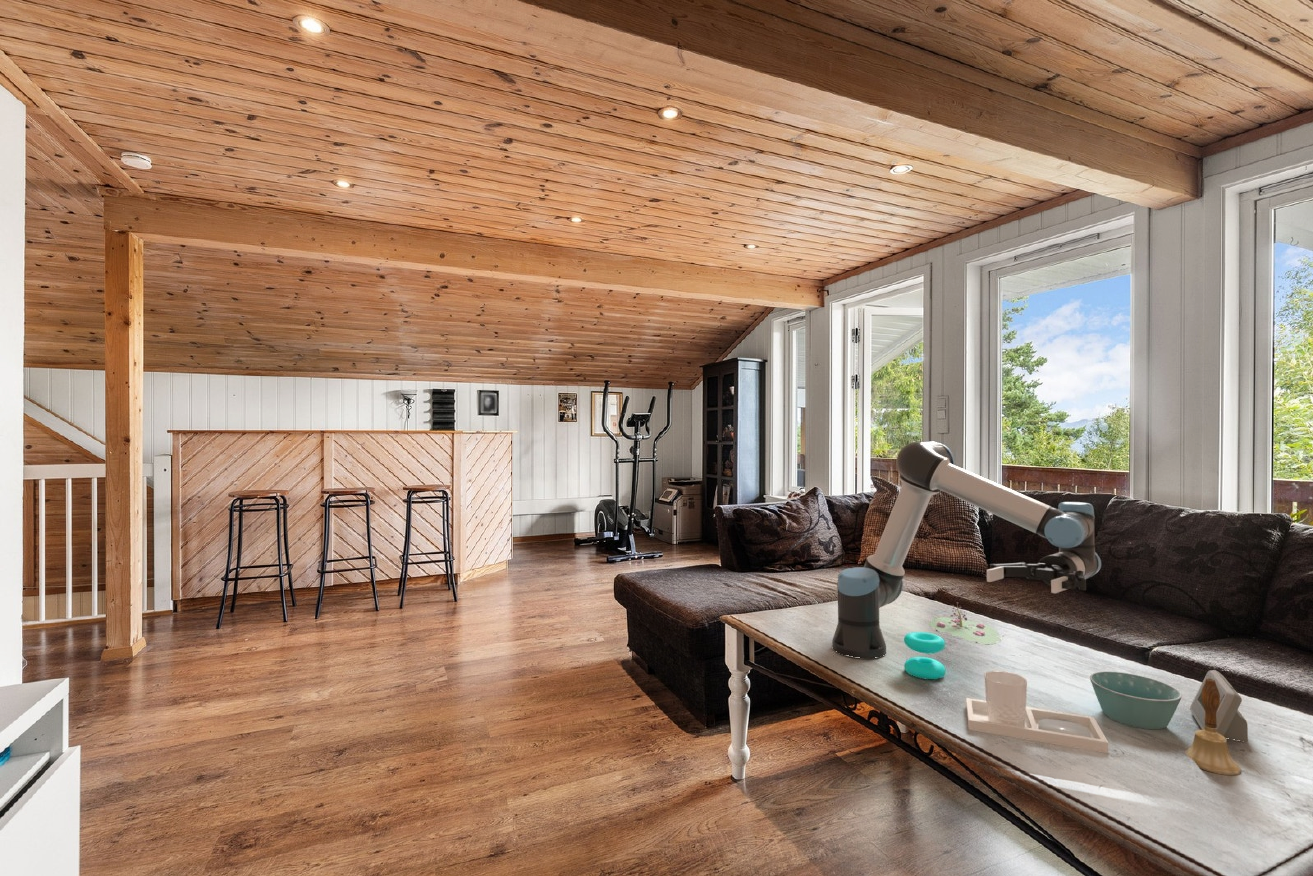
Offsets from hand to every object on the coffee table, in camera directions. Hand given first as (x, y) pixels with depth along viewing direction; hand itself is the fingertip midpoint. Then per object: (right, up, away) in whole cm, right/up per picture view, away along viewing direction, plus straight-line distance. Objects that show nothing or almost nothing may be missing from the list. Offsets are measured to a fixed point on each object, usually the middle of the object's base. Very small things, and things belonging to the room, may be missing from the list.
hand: (1019, 581), depth 135 cm
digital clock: (+37, -30, -8) cm, 48 cm away
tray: (-2, -30, -8) cm, 31 cm away
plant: (+20, -31, +60) cm, 70 cm away
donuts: (-10, -31, +24) cm, 41 cm away
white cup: (-7, -29, -7) cm, 31 cm away
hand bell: (+24, -30, -21) cm, 44 cm away
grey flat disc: (+3, -29, -11) cm, 31 cm away
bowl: (+23, -30, -4) cm, 38 cm away
